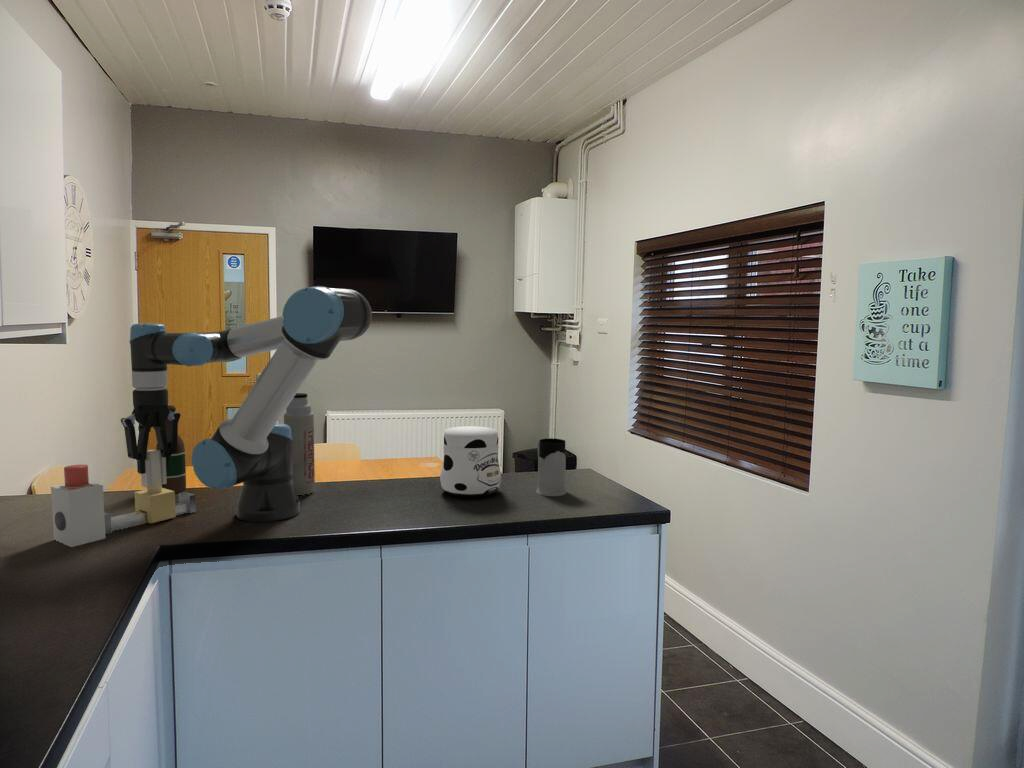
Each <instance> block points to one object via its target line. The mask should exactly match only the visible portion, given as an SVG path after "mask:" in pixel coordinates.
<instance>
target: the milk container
mask: <svg viewBox="0 0 1024 768" xmlns="http://www.w3.org/2000/svg"><path fill="white" fill-rule="evenodd" d="M498 431H499V430H498V429H496V428H493V427H487V426H479V425H478V426H477V425H474V426H473V425H472V426H471V425H468V426H465V425H464V426H461V425H460V426H454V427H453V426H452V427H449V428H446V429H444V433H443V444H442V445H443V459H442V460H443V461H442V466H441V468H440V474H439V479H440V485H441V486H440V487H441V489H442V490H443V491H444V492H445V493H447V494H449V495H453V496H456V497H463V498H467V497H468V498H474V497H475V498H477V497H484V496H488V495H489V496H490V495H491V494H494V493H496V492H497V491H498V490H499V489H500V487H501V482H502V472H501V467H500V464H499V432H498Z"/></svg>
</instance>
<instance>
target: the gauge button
mask: <svg viewBox="0 0 1024 768" xmlns="http://www.w3.org/2000/svg"><path fill="white" fill-rule="evenodd" d="M63 473H64V476H63V477H64V484H65V487H80V486H85V485H88V484H89V482H90V480H89V479H90V478H89V465H88V464H73V465H68V466H65V467H64V468H63Z"/></svg>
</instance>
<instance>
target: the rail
mask: <svg viewBox="0 0 1024 768" xmlns="http://www.w3.org/2000/svg"><path fill="white" fill-rule="evenodd" d="M177 494H178V501H175V517H177V516H181V515H184V513H185V514H193V512H194V513H196V512H197V504H196V503H197V502H196V500H197V499H196V494H194V493H190V492H188V491H182V492H179V493H177ZM104 515H105V534H107V535H109V534H108V533H111V534H112V533H113V532H115V531H114V530H117V531H120V530H119V529H121V530H125V529H128V527H129V528H132V527H137V526H140V525H145V524H148V523H149V522H147V512H146V511H143V510H141V511H133V512H129V513H125V514H120V515H115V516H111V513H109V512H106V511H104ZM149 524H150V523H149ZM124 528H125V529H124ZM111 531H113V532H111Z"/></svg>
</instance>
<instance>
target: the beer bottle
mask: <svg viewBox="0 0 1024 768" xmlns="http://www.w3.org/2000/svg"><path fill="white" fill-rule="evenodd" d="M168 407H169V409H170V411H172V412H176V411H177V408H176V406H175V405H168ZM168 420H169V419H168V418H166V420H165V421H164V422H165V427H166V429H165V432H166V437H167V433H168ZM155 450H159V447H158V443H156V447H155ZM185 450H186V448H185V443H184V440H183V438H182V437H181V436H180V435H179V434H177V451H176V453H172V455H171V457H169V469H166V479H167V484H162V488H165V489H168V490H172V491H175V494H178V493H180V492H186V489H187V473H186V472H187V468H186V451H185Z"/></svg>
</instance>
